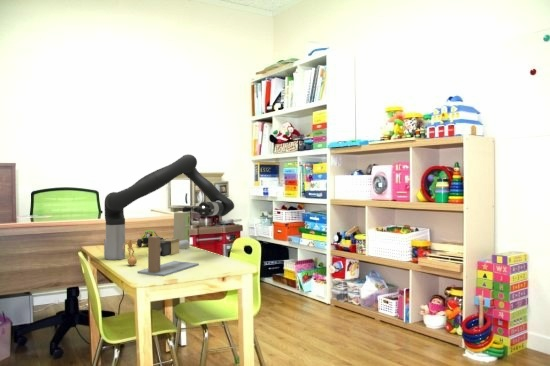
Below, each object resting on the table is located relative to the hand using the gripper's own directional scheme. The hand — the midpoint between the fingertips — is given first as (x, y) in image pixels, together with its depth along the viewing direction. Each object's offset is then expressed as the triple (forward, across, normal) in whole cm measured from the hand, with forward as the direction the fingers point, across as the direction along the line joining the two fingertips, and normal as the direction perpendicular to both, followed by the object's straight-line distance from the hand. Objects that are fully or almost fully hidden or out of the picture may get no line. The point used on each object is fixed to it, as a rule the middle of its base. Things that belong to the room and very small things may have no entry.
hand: (190, 210), depth 225 cm
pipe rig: (+17, +2, +25) cm, 31 cm away
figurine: (+19, -19, +26) cm, 37 cm away
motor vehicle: (-32, -50, +26) cm, 64 cm away
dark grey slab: (+24, +2, +18) cm, 30 cm away
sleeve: (+18, +2, +19) cm, 26 cm away
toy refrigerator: (-31, -26, +25) cm, 47 cm away
